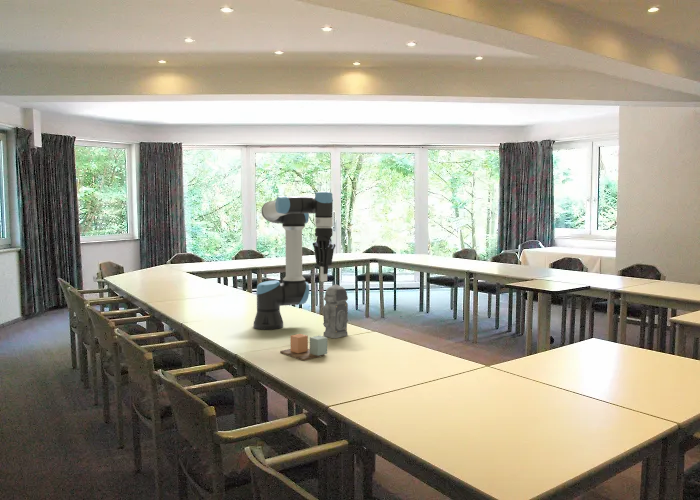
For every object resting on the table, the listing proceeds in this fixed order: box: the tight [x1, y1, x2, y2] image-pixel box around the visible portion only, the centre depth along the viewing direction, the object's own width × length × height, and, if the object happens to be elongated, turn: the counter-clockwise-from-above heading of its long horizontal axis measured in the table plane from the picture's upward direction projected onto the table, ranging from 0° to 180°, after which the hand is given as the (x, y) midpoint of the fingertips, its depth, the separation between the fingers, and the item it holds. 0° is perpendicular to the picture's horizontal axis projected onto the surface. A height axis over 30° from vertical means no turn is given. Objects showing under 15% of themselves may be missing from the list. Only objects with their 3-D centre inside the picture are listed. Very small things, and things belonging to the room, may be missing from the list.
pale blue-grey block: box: [309, 335, 328, 356], centre depth 232 cm, size 5×5×7 cm
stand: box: [279, 348, 325, 362], centre depth 234 cm, size 16×11×1 cm
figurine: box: [322, 283, 349, 339], centre depth 267 cm, size 10×14×25 cm
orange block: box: [289, 333, 309, 353], centre depth 235 cm, size 5×5×7 cm
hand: (323, 281), depth 244 cm, fingers closed
